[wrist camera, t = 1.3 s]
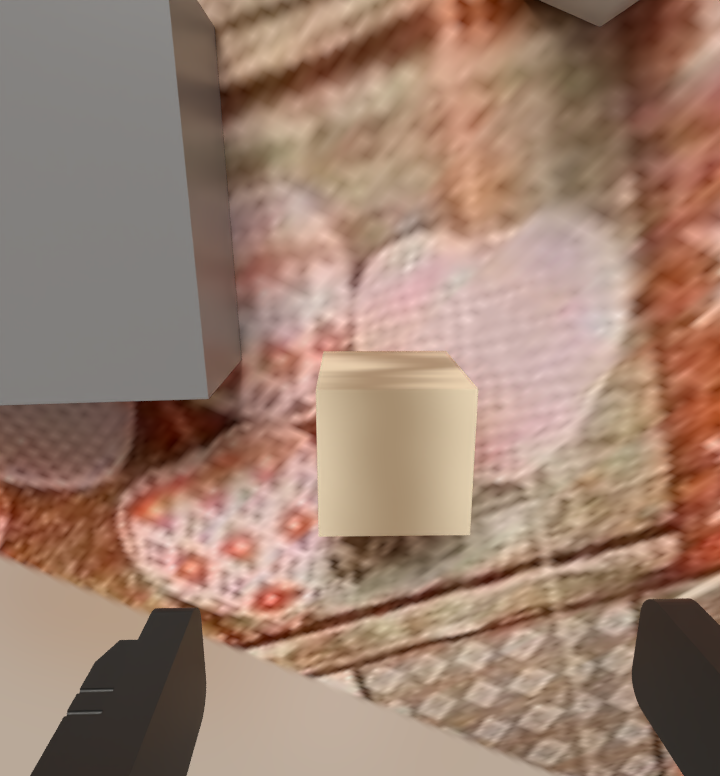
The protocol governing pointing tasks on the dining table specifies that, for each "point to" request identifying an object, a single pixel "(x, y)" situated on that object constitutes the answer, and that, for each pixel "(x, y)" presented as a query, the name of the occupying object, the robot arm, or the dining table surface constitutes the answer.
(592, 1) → the flask
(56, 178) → the grey box
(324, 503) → the birch block
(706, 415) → the dining table surface
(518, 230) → the dining table surface
